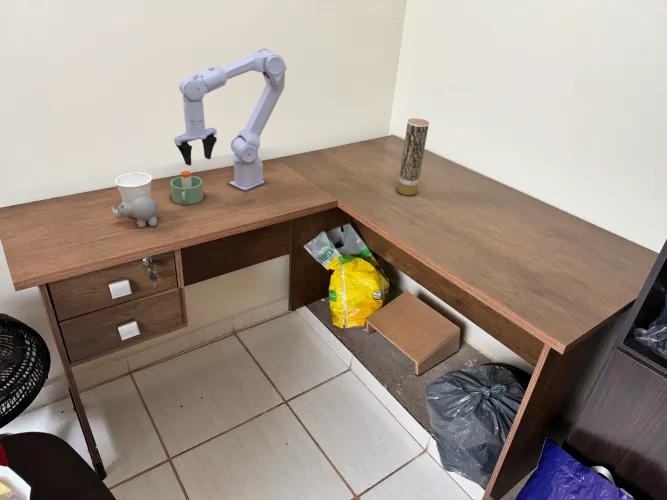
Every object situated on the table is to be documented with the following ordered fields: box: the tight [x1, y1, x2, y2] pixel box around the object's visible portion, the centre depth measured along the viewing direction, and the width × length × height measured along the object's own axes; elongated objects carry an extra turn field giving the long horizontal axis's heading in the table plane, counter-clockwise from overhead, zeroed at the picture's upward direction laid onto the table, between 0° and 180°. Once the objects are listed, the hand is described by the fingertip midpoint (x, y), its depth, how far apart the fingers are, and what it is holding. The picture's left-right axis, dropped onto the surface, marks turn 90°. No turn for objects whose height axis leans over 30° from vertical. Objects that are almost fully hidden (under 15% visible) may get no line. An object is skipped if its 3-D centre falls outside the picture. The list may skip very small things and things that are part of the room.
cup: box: [114, 172, 153, 218], centre depth 140 cm, size 10×10×11 cm
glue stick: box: [180, 170, 192, 188], centre depth 151 cm, size 3×3×8 cm
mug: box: [170, 175, 205, 206], centre depth 151 cm, size 12×10×6 cm
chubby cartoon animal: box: [111, 195, 159, 229], centre depth 136 cm, size 7×12×8 cm, turn 103°
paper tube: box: [397, 118, 430, 196], centre depth 161 cm, size 7×7×25 cm
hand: (198, 161), depth 153 cm, fingers open, 7 cm apart
